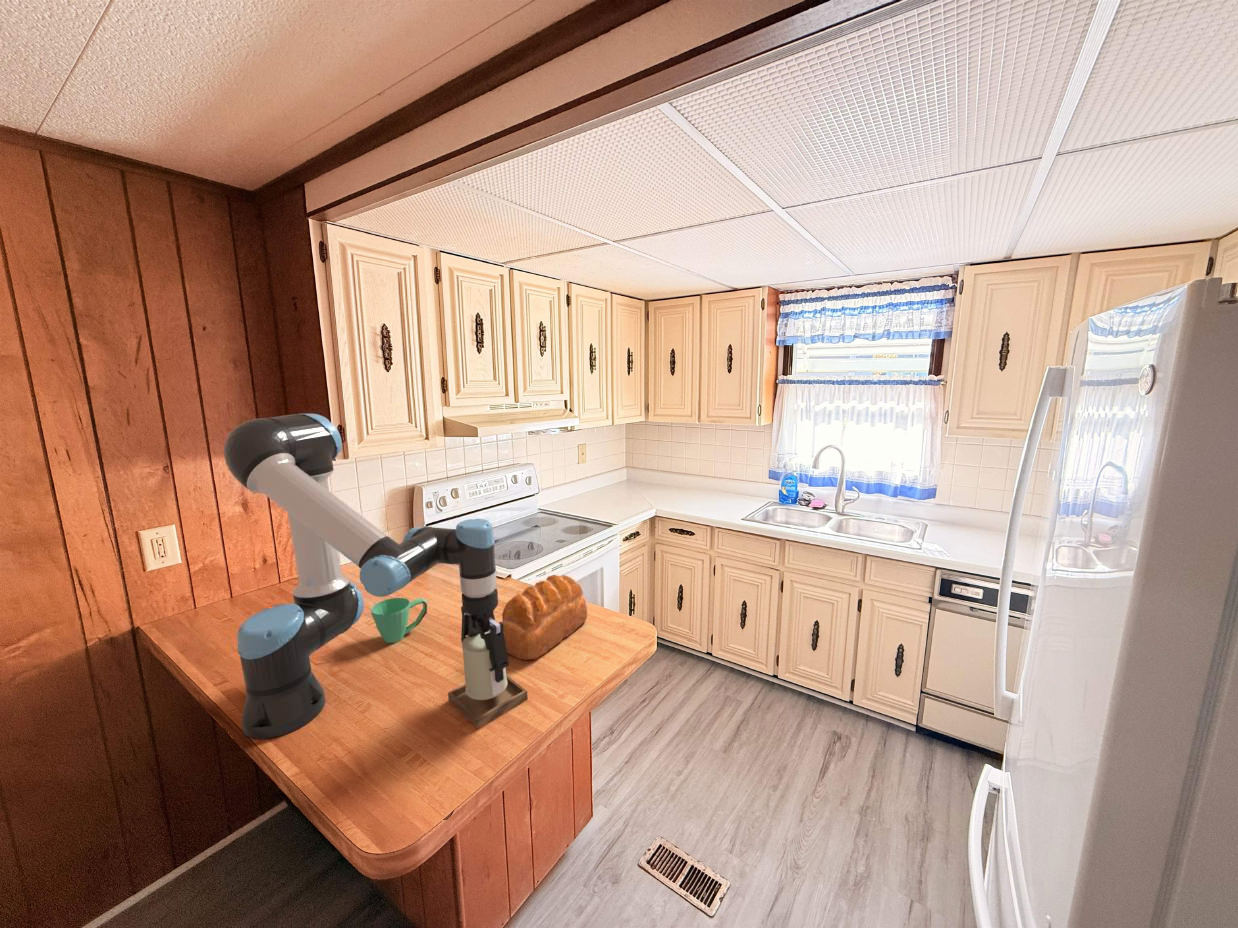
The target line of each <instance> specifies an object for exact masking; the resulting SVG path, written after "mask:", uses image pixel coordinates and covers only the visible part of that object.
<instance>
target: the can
mask: <svg viewBox="0 0 1238 928" xmlns="http://www.w3.org/2000/svg"><path fill="white" fill-rule="evenodd" d="M487 633H489V631H488V632H486V633H485V634H487ZM461 649H462V655H463V656H462V657H463V666H464V667H463V669H464V680H465V683H464V684H466V688H465V691H466V694H467V695H468V696H469V697H470V698H472V699H475V700H487V699H491V698H494V697H496V696H498V695H499V694H501V693H502V692H503V691H502V692H500V693H499V694H497V695H495V696H493V695H492V691H491V678H490V670H489V669H490V668H491V667H492V665H491V662H490V658H489V650H487V648H486V645H485V642H484V639H481V636H480V633H479V634H477V635H475V636H472V637H470V636H469V635H466V638H465V639H464V640H463V642H461ZM503 675H504V690H505V689H506V687H507V678H506V675H507V667H505V668H504V669H503Z"/></svg>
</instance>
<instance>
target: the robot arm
mask: <svg viewBox="0 0 1238 928" xmlns="http://www.w3.org/2000/svg"><path fill="white" fill-rule="evenodd" d="M342 442H343V441H342V437H341V434H340V432H339V429H338V428H337V427H336V425H335V424H334V423H333V422H331V421H330V420H329V419H328V418H326V417H325V416H323V415H320V414H318V413H295V414H293V413H292V414H285V415H280V416H279V415H278V416H273V417H265V418H263V417H261V418H253V419H249V420H247V421H244V422H242V423H240V424H239V425H237V426H236V427H235V428H233V429H232V430H231V431H230V433H229V434H228V436H227V438H226V440H225V442H224V447H223V456H224V457H223V458H224V461H225V464H226V466H227V469H228V470H229V472H230V473H231V474H232V476H233V478H234V479H235V480H236V481H237V482H239V483H240V485H241V486H243V487H245V488H246V489H247V490H248V491H250V492H252V493H254V494H263V495H265V496H266V497H267V498H269V500H271V501H272V502H273V503H274V504H276V505H278V506H279V507H280V508H282V509H283V510H284V511H285V512H286V513H287V518H288V523H289V528H290V529H289V530H290V537H291V542H292V546H293V553H294V554H293V555H294V559H295V560H294V562H295V566H296V572H297V577H298V584H297V585H296V586H295V587H294V588H293V590H292V597H293V603H290V602H289V603H281V604H276V605H273V606H272V607H270V608H269V607H266V608H264V609H262V610H259V611H257V612H256V613H255V614H252V615H251V616H249V617H248V618H247V619H246V620H245V621H244V622H243V623H242V624H241V625H240V627H239V628H238V630H237V636H236V639H237V649H236V650H237V653H238V655H239V658H240V664H241V668H242V670H241V671H242V675H243V679H244V685H245V689H246V696H245V701H244V704H243V705H244V706H243V710H242V714H241V719H240V722H241V727H242V732H243V734H244V735H245V736H246V737H248V738H251V739H256V740H264V739H266V740H267V739H272V738H276V737H279V736H284V735H286V734H289V733H292V732H294V731H296V730H298V729H300V728H302V727H303V726H305V725H307V724H308V723H310V722H312V721H313V719H315V718H316V717H317V716H318V715H319V714H320V713H321V712H322V711H323V709H324V707H325V705H326V694H325V689H324V688H323V686H322V685H321V683H320V682H319V680H318V678H317V677H316V676H315V674H314V673H313V671H312V666H311V665H312V664H311V658H310V656H311V655H312V654H313V653H315V652H317V650H320V649H322V648H323V646H326V644H328V643H330V642H331V641H333V640H335V638H337V637H338V636H340V635H342V634H344V633H346V632H347V631H349V630H350V629H351V628H352V626H354V625H355V624H356V623H357V622H358V621H359V620H360V619H361V617H362V615H363V612H364V605H365V602H364V595H363V594H362V592H361V590H358V586H357V585H356V584H355V583H354V582H352V581H350V578H349V577H348V576H346V575H345V574H343V573H342V570H341V564H340V557H339V554H342V556H344V557H345V558H347V559H348V561H350V562H352V563H353V564H354V565H356V566H357V567H358V568H359V570H360V571H359V581H360V584H361V585H363V587H364V590H365V591H366V592H367V593H368V594H369V595H372V596H374V597H379V598H382V597H387V596H390V595H391V594H394V593H396V592H398V591H400V590H401V589H404V588H405V587H406V586H407V585H408V584H410V583H411V582H413V581H414V580H415V579H417V578H419V576H421V575H423V574H424V573H426V572H427V571H429V570H431V569H432V568H434V567H435V566H436V565H438V564H443V565H458V569H459V583H460V584H459V585H460V592H461V603H462V605H461V607H460V609H461V610H460V612H461V631H460V632H461V633H460V635H461V637H460V641H461V643H462V642H463V640H464V639H465V638H466V637H467V636H468V635H469V636H470V637H472V636H475V635H477V634H479V633H480V636H481V639H484V642H485V645H486V648H487V650H489V658H490V662H491V665H492V667H491V668H490V669H489V670H490V678H491V691H492V695H493V696H495V695H497V694H499V693H500V692H502V691H504V675H503V669H504V668H505V667H506V668H507V667H509V666H510V661H509V656H508V654H509V653H507V649H506V644H505V638H504V633H503V623H502V622H503V621H499V622H497V621H496V617H495V613H494V612H495V610H496V609H497V607H498V604H499V594H498V593H499V592H498V591H499V590H498V588H497V586H498V585H497V584H498V583H497V568H496V555H495V554H496V552H495V537H494V536H495V535H494V530H493V525H492V523H491V521H489V520H487V519H486V518H485V519H484V518H471V519H470V518H468V519H465V520H463V521H460V522H458V523H457V525H456V526H455V528H446V527H434V526H433V527H432V526H415V527H413V528H410V529H409V530H408V531H407V533H406V534H405V535H404V537H403V540H402V542H401V543H400V544H399V543H398V542H396V541H395V540H394V539H392V538H391V537H390V536H388V535H387V534H386V533H384V532H383V531H382V530H381V529H379V528H378V527H376V526H375V525H374V523H373V524H372V522H370V521H369V520H367V519H366V518H365V517H363V516H362V515H361V514H360V513H359V512H358V511H356V510H355V509H354V508H352V507H351V506H349V505H348V504H346V503H345V502H344V501H343V500H342V499H340V498H338V497H337V495H336V494H334V493H332V492H331V491H330V489H329V482H328V478H329V477H330V476H331V475H332V473H334V471H335V470H334V464H333V461H334V460H335V459H336V458H338V456H339V455H340V453H341V452H342V446H343V443H342ZM488 631H489V633H487V634H485V633H486V632H488Z"/></svg>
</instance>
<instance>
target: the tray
mask: <svg viewBox="0 0 1238 928" xmlns="http://www.w3.org/2000/svg"><path fill="white" fill-rule="evenodd" d="M506 678H507V687H506V689H505V690H504V691H503V692H502V693H501V694H499V695H498V696H496V697H494V698H491V699H487V700H475V699H472V698H470V697H469V696H468V695H467V694H466V691H465V688H466V683H464V684H463V685H460V686H458V687H456V688H455V689H453V690H451V691H449V692H447V697H448V698H447V700H448V702H449V703H450V704H452V706H453V707H454V708H455V709H456V710H457V711H458V712H460V714H462V716H463V717H465V718H466V720H468V722H470V723H471V724H472V725H473V726H474V727H475V728H476V729H478V730H479V728H482V727H484V726H485V725H486V724H489V723H490V722H492V721H493V720H495V719H496V718H498V717H500V716H502V715H504V714H505V713H507V712H508V711H510V710H511V709H513V708H515V707H518V705H520V704H522V703H523V702H525V701H527V700H528V690H527V689H526V688H524V687H523V686H522V685H520V684H519V683H518V682H516V681H515V680H514V679H512V677H511V676H508V674H506Z"/></svg>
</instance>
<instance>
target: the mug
mask: <svg viewBox="0 0 1238 928" xmlns="http://www.w3.org/2000/svg"><path fill="white" fill-rule="evenodd" d="M420 604H422V609H421V611H420V612H419V614H418V616H417V617H416V619H415V620H414V621H413V622H411V623H410V624H409V625H408V623H409V618H410V617H409V615H410V609H412V608H413V607H416V606H418V605H420ZM370 612H371V617H372V618H373V621H374V623H375V627H376V630H377V631H378V633H379V635H380V637H381V638H382V639H383V640H384V642H385V643H387V644H395V643H398V642H400V641H402V640H403V639H404V637H405V635H406V634H408V633H409V632H410V631H412V630H413V629H414V628H416V627H418V626H419V625H420V623H421V621H423V619H424V618H425V616H426V614H427V613H428V600H426V599H424V598H423V597H419V598H416V599H414V600H412V601H410V600H409V599H408V598H404V597H392V598H387V599H384V600H380V601H379V602H377V603H375V604H374V605H372V606H371V608H370Z"/></svg>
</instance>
